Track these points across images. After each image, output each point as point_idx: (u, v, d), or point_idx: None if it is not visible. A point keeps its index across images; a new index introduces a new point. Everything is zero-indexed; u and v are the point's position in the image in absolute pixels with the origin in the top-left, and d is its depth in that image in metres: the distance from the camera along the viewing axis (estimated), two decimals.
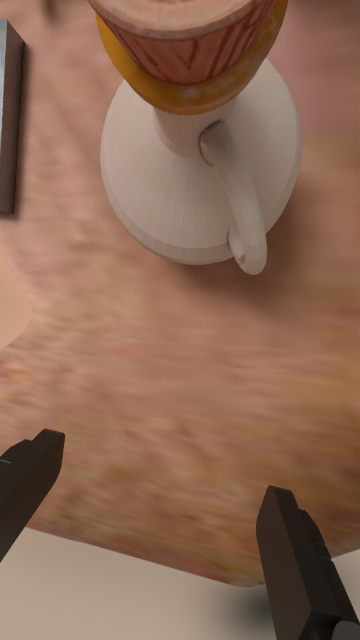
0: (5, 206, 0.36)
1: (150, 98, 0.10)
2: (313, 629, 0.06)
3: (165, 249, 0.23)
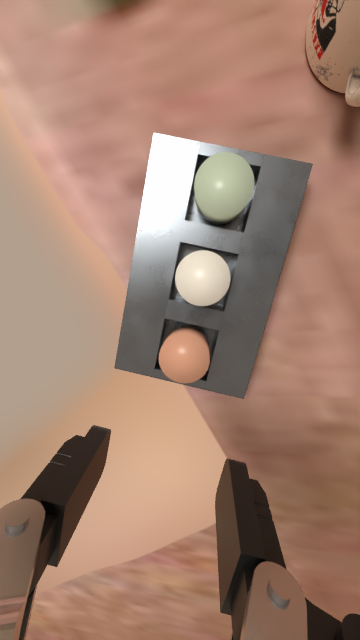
0: None
1: None
2: (243, 571, 0.07)
3: None
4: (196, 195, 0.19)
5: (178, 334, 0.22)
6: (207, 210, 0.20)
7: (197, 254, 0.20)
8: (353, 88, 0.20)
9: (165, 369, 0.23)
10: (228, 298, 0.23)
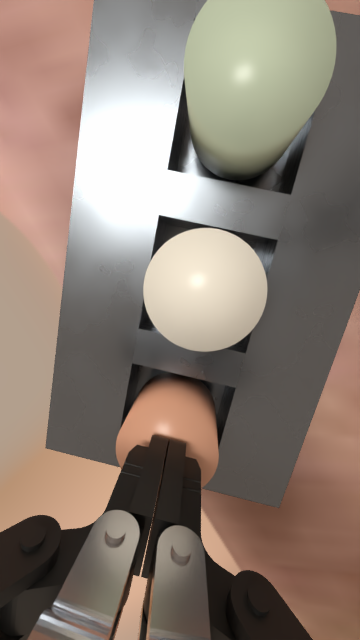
0: None
1: None
2: (159, 535, 0.07)
3: None
4: (189, 92, 0.08)
5: (154, 403, 0.11)
6: (216, 130, 0.08)
7: (192, 238, 0.09)
8: None
9: None
10: (254, 328, 0.12)
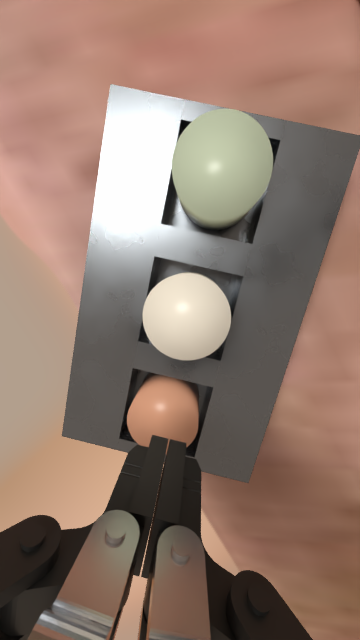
0: None
1: None
2: (159, 536, 0.07)
3: None
4: (175, 183, 0.12)
5: (154, 388, 0.16)
6: (194, 208, 0.12)
7: (177, 280, 0.13)
8: None
9: (136, 434, 0.16)
10: (227, 341, 0.16)
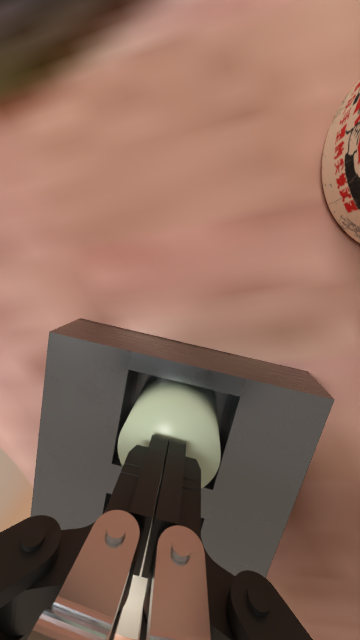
0: None
1: None
2: (159, 535, 0.07)
3: None
4: (122, 462, 0.11)
5: None
6: None
7: None
8: None
9: None
10: None
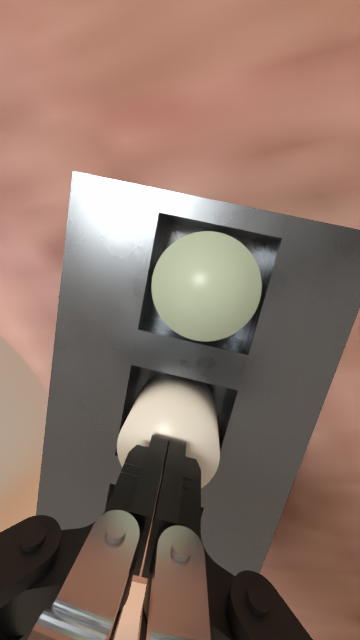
0: None
1: None
2: (159, 536, 0.07)
3: None
4: (156, 304, 0.11)
5: None
6: (176, 330, 0.11)
7: (156, 412, 0.11)
8: None
9: None
10: None
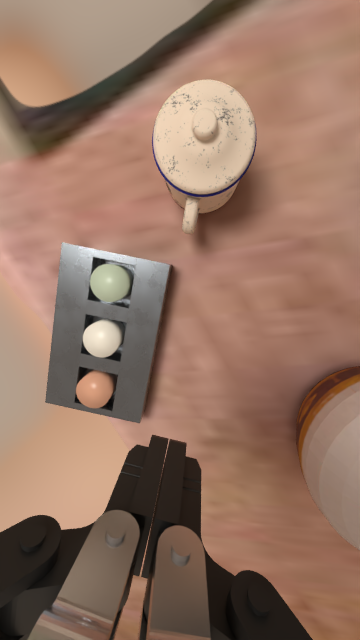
0: (142, 413, 0.36)
1: None
2: (159, 536, 0.07)
3: None
4: (92, 289, 0.30)
5: (88, 375, 0.33)
6: (99, 298, 0.31)
7: (95, 325, 0.31)
8: None
9: (81, 398, 0.33)
10: (122, 352, 0.33)
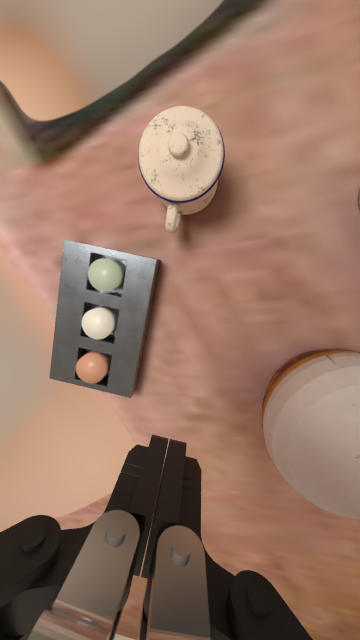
0: (133, 389, 0.41)
1: None
2: (159, 536, 0.07)
3: None
4: (89, 280, 0.35)
5: (86, 355, 0.38)
6: (96, 288, 0.36)
7: (92, 311, 0.36)
8: (176, 218, 0.34)
9: (80, 375, 0.38)
10: (115, 335, 0.38)
